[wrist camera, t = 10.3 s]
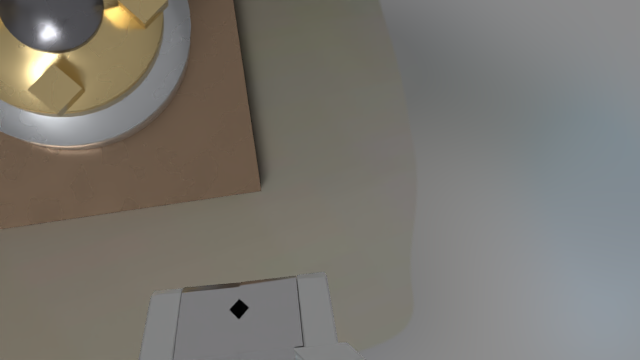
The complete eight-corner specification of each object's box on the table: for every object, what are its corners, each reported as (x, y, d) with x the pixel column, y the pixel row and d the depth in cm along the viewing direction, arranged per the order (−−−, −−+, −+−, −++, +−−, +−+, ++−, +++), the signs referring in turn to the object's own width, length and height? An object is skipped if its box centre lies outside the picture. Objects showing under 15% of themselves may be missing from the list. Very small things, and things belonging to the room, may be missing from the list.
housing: (-82, 241, 34) (-118, 245, 30) (-125, -65, 34) (-167, -102, 30) (259, 191, 38) (268, 189, 34) (219, -78, 39) (223, -112, 35)
